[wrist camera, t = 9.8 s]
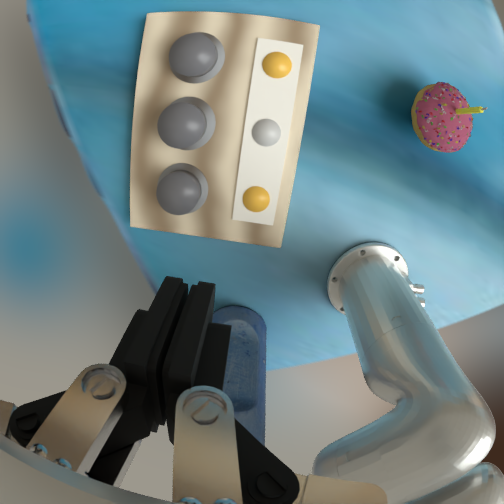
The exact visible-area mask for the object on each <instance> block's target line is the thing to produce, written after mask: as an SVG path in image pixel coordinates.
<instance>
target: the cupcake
mask: <svg viewBox="0 0 504 504" xmlns="http://www.w3.org/2000/svg"><path fill="white" fill-rule="evenodd" d="M486 109H487V107H486V108H482V107H470V106H469V104H468V102H467V101H466V98H465V97H464V96H463V95H462V94H461V92H459V90H458V89H457V88H455V87H454V86H451V85H450V84H449V83H444V82H437V83H436V84H431V85H427V86H426V87H424V88H423V89H421V90H420V91H419V92H418V93H417V95H416V97H415V100H414V103H413V105H412V109H411V116H412V124H413V129H414V131H415V133H416V134H417V136H418V137H419V139H420V141H421V142H422V143H423V144H424V145H425V146H427V147H428V148H430V149H432V150H435V151H440V152H455V151H458V150H460V149H461V147H464V146H463V145H465V144H466V142H467V140H468V138H469V137H471V134H470V133H471V130H472V128H473V126H472V125H473V124H472V120H473V118H472V116H471V113H483V110H486Z"/></svg>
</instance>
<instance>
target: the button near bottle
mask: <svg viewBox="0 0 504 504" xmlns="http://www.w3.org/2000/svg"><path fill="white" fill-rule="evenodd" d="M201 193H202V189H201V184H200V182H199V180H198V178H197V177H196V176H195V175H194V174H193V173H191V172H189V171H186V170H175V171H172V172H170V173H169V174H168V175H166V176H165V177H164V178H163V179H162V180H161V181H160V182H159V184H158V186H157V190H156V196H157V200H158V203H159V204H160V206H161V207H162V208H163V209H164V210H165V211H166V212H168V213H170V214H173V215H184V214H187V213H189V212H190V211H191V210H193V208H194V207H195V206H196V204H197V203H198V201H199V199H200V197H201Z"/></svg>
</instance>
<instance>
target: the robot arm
mask: <svg viewBox="0 0 504 504" xmlns="http://www.w3.org/2000/svg"><path fill="white" fill-rule="evenodd" d="M361 250H362V251H361ZM327 292H328V296H329V299H330V301H331V303H332V305H333V306H334V307H335V309H337V310H338V311H339V312H340V313H342V314H344V315H346V317H347V320H348V323H349V327H350V330H351V333H352V337H353V340H354V343H355V347H356V350H357V353H358V357H359V360H360V364H361V367H362V371H363V375H364V378H365V381H366V383H367V385H368V387H369V388H370V390H371V391H372V392H373V393H374V394H375V395H376V396H378V397H379V398H381V399H383V400H384V401H386V402H389V403H391V404H394V405H396V407H395V408H394V409H393V410H391V411H390V412H388V413H387V414H385V415H383V416H382V417H380V418H379V419H377V420H375V421H374V422H372V423H370V424H368V425H366V426H364V427H362V428H360V429H358V430H357V431H354V432H352V433H350V434H348V435H346V436H345V437H342V438H341V439H338V440H337V441H335V442H333V443H331V444H329V445H328V446H327V447H325V448H324V449H322V450H321V451H320V453H319V454H318V455H317V457H316V458H315V460H314V463H313V467H312V474H309V475H308V476H305V475H300V474H295V473H294V472H292V470H291V469H290V468H289V467H287V466H286V465H285V464H284V463H283V462H281V461H280V460H279V459H278V458H277V457H276V456H275V455H274V454H273V453H271V452H270V451H269V450H268V449H267V448H266V447H265V446H264V445H263V444H262V443H260V442H259V441H258V440H257V439H256V438H255V437H254V436H253V435H252V434H251V433H250V432H249V431H248V430H247V429H246V428H245V427H244V426H243V425H242V424H241V423H239V422H238V421H237V420H236V419H235V418H234V408H233V405H232V401H231V400H230V398H229V397H228V396H227V395H226V394H225V393H224V392H223V385H224V378H225V371H226V364H227V357H228V350H229V343H230V335H231V328H232V325H226V324H219V323H213V322H212V319H213V308H214V296H215V284H214V283H207V282H201V281H199V283H198V285H192V286H191V289H190V292H189V294H188V284H186V283H183V279H182V278H176V277H170V276H166V277H165V279H164V281H163V283H162V285H161V287H160V289H159V290H158V292H157V294H156V296H155V298H154V300H153V302H152V304H151V306H150V308H149V311H145V310H140V309H139V310H137V312H136V313H135V315H134V317H133V318H132V320H131V322H130V324H129V326H128V328H127V330H126V332H125V333H124V335H123V338H122V339H121V341H120V343H119V345H118V347H117V349H116V351H115V353H114V355H113V357H112V359H111V361H110V363H109V364H95V365H91V366H89V367H87V368H85V369H84V370H83V371H82V372H81V373H80V374H79V375H78V377H77V378H76V379H75V381H74V382H73V383H72V384H71V386H70V387H69V388H68V389H67V390H66V391H63V392H60V393H57V394H54V395H51V396H48V397H45V398H42V399H39V400H36V401H33V402H30V403H27V404H24V405H21V406H19V407H16V406H15V404H14V403H10V402H6V401H2V400H0V504H504V475H503V474H502V473H501V471H500V470H499V469H498V468H497V467H496V466H495V465H493V464H491V463H487V462H485V463H480V462H481V461H482V460H483V459H484V457H485V456H486V455H487V454H488V452H489V451H490V449H491V447H492V445H493V442H494V439H495V432H496V428H495V421H494V418H493V416H492V413H491V411H490V409H489V407H488V406H487V404H486V402H485V401H484V399H483V398H482V397H481V395H480V394H479V393H478V392H477V390H476V389H475V387H474V386H473V385H472V383H471V382H470V381H469V379H468V378H467V377H466V376H465V374H464V373H463V371H462V370H461V368H460V367H459V366H458V364H457V362H456V361H455V359H454V358H453V356H452V354H451V353H450V351H449V350H448V348H447V346H446V345H445V343H444V341H443V340H442V338H441V336H440V334H439V332H438V331H437V329H436V327H435V326H434V324H433V322H432V321H431V319H430V317H429V316H428V314H427V312H426V311H425V309H424V305H425V300H424V298H422V297H417V296H416V295H415V293H417V294H423V292H424V286H423V285H420V284H412V282H411V281H410V280H409V278H408V267H407V264H406V261H405V260H404V258H403V257H402V255H401V254H400V253H399V252H398V251H397V250H396V249H395V248H393V247H392V246H390V245H387V244H384V243H379V242H370V243H365V244H361V245H358V246H356V247H353V248H352V249H350V250H348V251H347V252H345V253H344V254H343V255H342V256H341V257H340V258H339V259H338V260H337V261H336V262H335V263H334V265H333V267H332V269H331V270H330V273H329V276H328V280H327ZM166 420H167V427H168V433H169V440H170V442H171V443H172V444H173V445H174V455H173V494H172V495H173V496H172V499H173V500H172V502H169V501H165V500H161V499H157V498H153V497H148V496H145V495H141V494H137V493H134V492H130V491H127V490H124V489H120V488H119V487H120V485H121V483H122V481H123V479H124V476H125V475H126V472H127V471H128V469H129V467H130V465H131V463H132V461H133V459H134V457H135V454H136V452H137V451H138V449H139V447H140V444H141V440H142V439H143V438H145V437H148V436H149V435H150V432H151V431H152V432H157V430H158V426H159V425H164V424H165V422H166Z"/></svg>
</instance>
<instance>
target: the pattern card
mask: <svg viewBox="0 0 504 504" xmlns="http://www.w3.org/2000/svg"><path fill="white" fill-rule="evenodd" d="M302 51H303V45H301V44H296V43H290V42H284V41H278V40H271V39H263V38H258V42H257V48H256V54H255V60H254V67H253V73H252V80H251V86H250V93H249V100H248V107H247V113H246V120H245V127H244V134H243V142H242V149H241V156H240V163H239V171H238V178H237V186H236V194H235V202H234V210H233V218H232V220H239V221H245V222H252V223H259V224H266V225H272V226H273V223H274V217H275V212H276V206H277V201H278V195H279V189H280V184H281V178H282V172H283V167H284V161H285V155H286V149H287V143H288V137H289V131H290V125H291V120H292V113H293V107H294V101H295V95H296V89H297V83H298V77H299V70H300V64H301V58H302Z"/></svg>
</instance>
